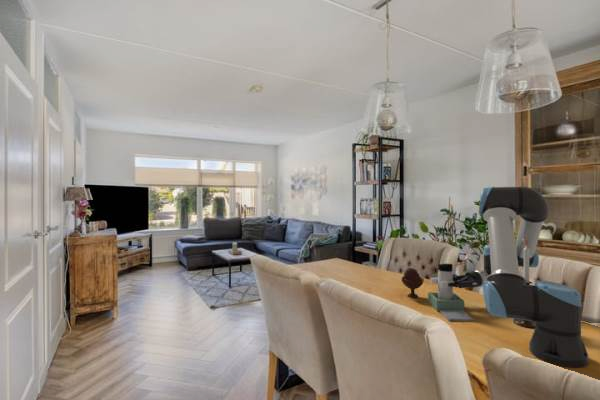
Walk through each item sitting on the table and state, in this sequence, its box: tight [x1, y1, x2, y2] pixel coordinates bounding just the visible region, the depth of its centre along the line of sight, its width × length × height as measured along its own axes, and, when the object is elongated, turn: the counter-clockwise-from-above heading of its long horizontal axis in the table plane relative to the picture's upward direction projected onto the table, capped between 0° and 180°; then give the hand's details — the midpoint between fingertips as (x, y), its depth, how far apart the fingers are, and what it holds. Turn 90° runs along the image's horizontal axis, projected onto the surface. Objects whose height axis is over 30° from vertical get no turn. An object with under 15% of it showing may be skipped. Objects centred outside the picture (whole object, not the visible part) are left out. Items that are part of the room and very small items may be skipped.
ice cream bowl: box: [401, 267, 425, 299], centre depth 168 cm, size 11×11×15 cm
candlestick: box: [512, 238, 536, 329], centre depth 131 cm, size 11×11×35 cm
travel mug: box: [437, 263, 454, 300], centre depth 152 cm, size 6×7×20 cm
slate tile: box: [439, 310, 474, 322], centre depth 140 cm, size 10×10×1 cm
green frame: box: [427, 291, 465, 312], centre depth 152 cm, size 12×12×5 cm
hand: (436, 283), depth 151 cm, fingers closed on travel mug, 6 cm apart
